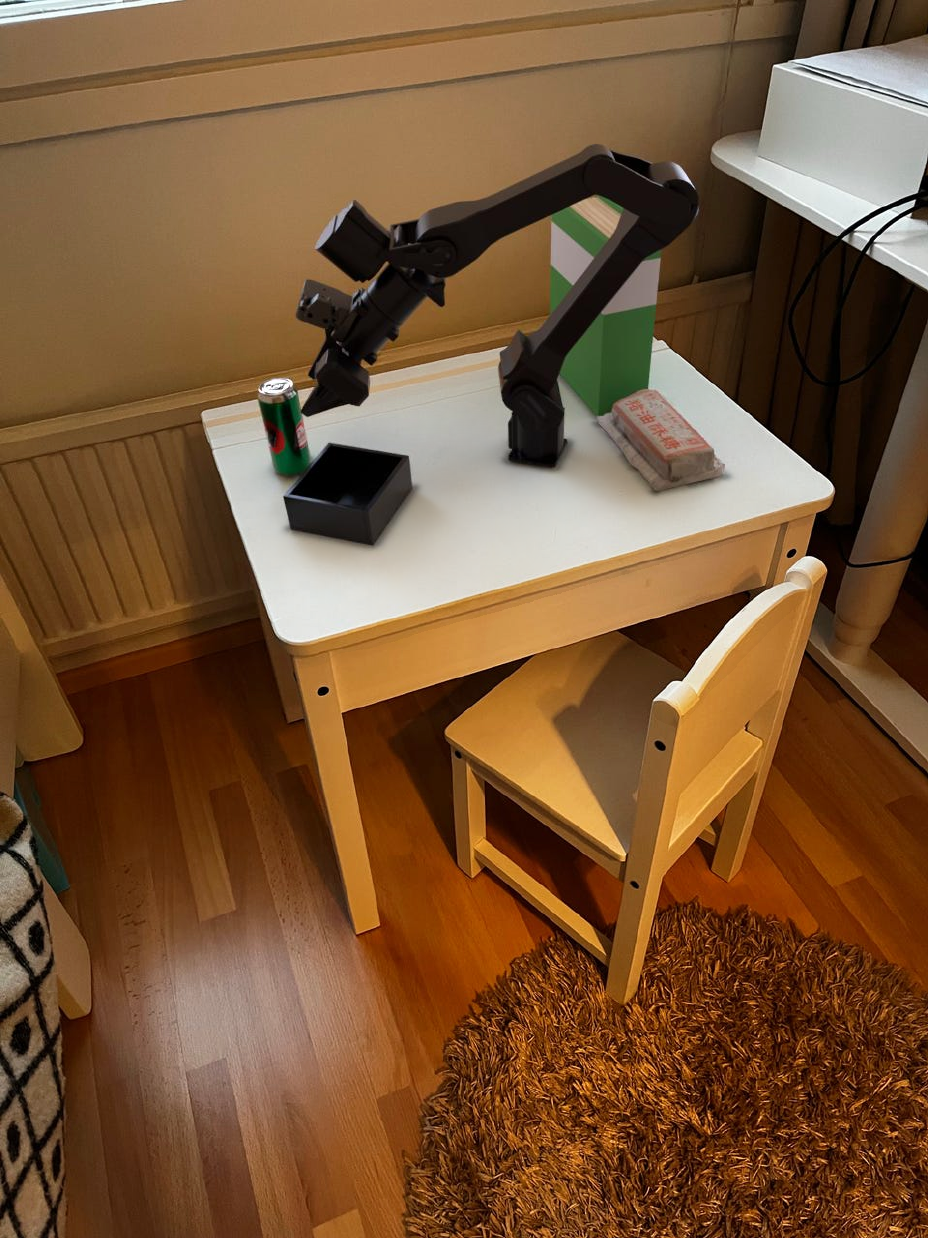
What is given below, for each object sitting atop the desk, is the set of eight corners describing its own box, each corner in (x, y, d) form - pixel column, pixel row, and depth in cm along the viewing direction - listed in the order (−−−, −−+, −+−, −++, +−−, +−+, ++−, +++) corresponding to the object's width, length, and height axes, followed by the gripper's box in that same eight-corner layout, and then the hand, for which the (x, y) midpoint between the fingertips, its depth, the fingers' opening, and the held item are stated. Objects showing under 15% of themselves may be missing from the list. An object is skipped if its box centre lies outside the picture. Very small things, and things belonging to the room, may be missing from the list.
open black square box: (412, 488, 117) (409, 455, 113) (373, 546, 109) (368, 512, 105) (334, 474, 120) (328, 442, 117) (290, 529, 112) (282, 496, 108)
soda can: (309, 477, 120) (292, 395, 112) (271, 478, 120) (251, 397, 112) (314, 455, 124) (299, 375, 115) (277, 457, 124) (259, 376, 116)
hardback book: (549, 361, 139) (551, 197, 123) (593, 352, 141) (602, 188, 124) (598, 417, 127) (607, 243, 110) (646, 406, 128) (663, 233, 112)
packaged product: (732, 444, 112) (658, 461, 110) (726, 477, 115) (654, 494, 113) (665, 377, 124) (597, 391, 123) (661, 408, 128) (595, 423, 126)
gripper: (336, 228, 110) (263, 321, 118) (323, 294, 96) (241, 394, 104) (407, 288, 115) (332, 373, 123) (404, 359, 102) (321, 449, 109)
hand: (307, 395), depth 115 cm, fingers open, 9 cm apart
